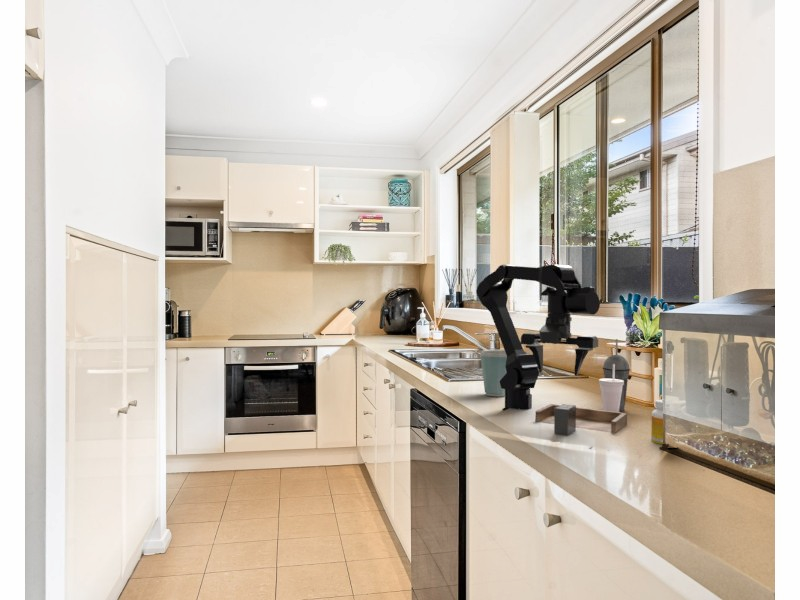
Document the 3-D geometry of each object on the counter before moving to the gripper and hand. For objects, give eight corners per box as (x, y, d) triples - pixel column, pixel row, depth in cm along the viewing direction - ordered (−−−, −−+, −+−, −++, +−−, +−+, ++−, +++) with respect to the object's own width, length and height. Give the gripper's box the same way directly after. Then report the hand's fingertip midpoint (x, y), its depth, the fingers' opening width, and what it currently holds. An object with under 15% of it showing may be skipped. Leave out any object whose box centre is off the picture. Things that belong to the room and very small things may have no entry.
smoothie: (625, 419, 145) (626, 365, 145) (600, 417, 146) (600, 364, 146) (621, 414, 151) (621, 363, 151) (596, 412, 153) (597, 362, 152)
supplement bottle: (667, 451, 115) (668, 404, 115) (645, 444, 120) (646, 400, 120) (684, 448, 117) (685, 402, 117) (662, 441, 122) (662, 398, 122)
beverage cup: (601, 410, 156) (602, 339, 155) (602, 405, 162) (603, 338, 162) (629, 412, 153) (630, 340, 153) (629, 408, 160) (630, 339, 160)
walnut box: (535, 425, 137) (535, 411, 136) (550, 417, 146) (551, 404, 146) (615, 437, 126) (615, 421, 126) (626, 427, 135) (626, 413, 135)
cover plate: (532, 438, 125) (532, 406, 125) (546, 430, 133) (546, 400, 133) (586, 447, 119) (586, 413, 119) (597, 438, 126) (597, 406, 126)
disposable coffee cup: (473, 395, 177) (474, 348, 176) (487, 391, 186) (487, 346, 186) (505, 399, 171) (506, 351, 171) (517, 394, 180) (518, 348, 180)
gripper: (512, 313, 141) (512, 374, 141) (587, 315, 131) (586, 380, 131) (528, 312, 150) (527, 369, 150) (599, 314, 140) (598, 375, 140)
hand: (558, 373), depth 143 cm, fingers open, 9 cm apart
